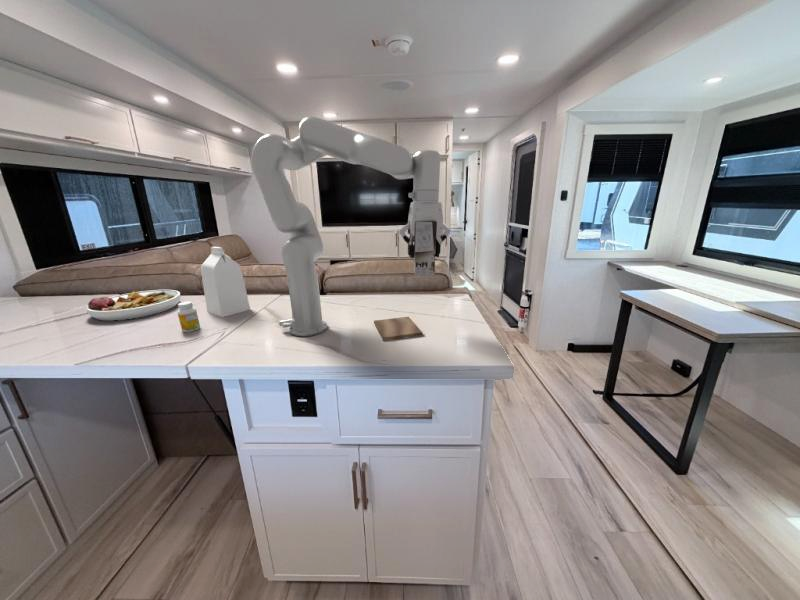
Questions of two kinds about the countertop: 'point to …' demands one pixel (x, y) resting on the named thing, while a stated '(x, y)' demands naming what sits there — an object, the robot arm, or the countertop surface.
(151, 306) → the plate of food
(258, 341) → the countertop surface
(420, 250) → the coffee box
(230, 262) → the milk
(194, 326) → the supplement bottle
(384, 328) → the walnut board
